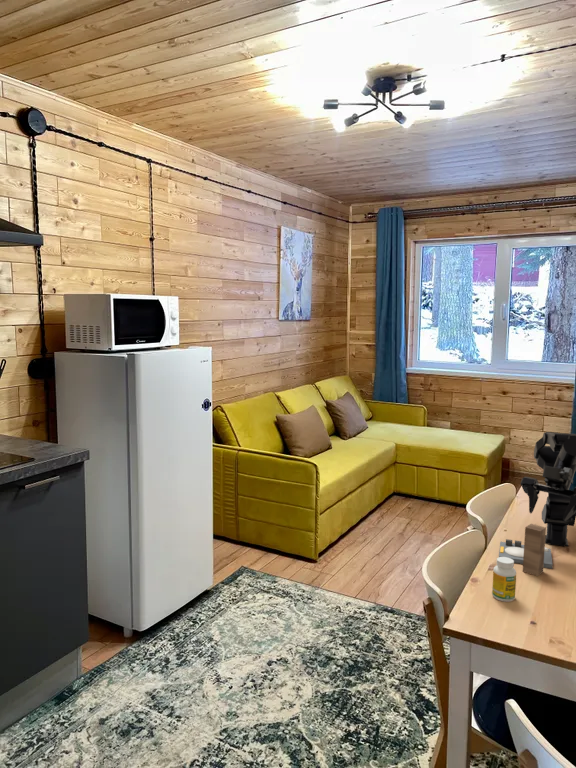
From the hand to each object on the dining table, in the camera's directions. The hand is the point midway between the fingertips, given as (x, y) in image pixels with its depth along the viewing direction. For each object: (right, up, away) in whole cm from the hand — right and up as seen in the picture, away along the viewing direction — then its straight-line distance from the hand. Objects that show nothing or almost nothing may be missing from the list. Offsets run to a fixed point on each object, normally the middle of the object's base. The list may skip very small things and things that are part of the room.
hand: (546, 516), depth 162 cm
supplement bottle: (-19, -16, -19) cm, 31 cm away
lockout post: (-6, -14, -4) cm, 16 cm away
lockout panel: (-4, -13, +6) cm, 15 cm away
